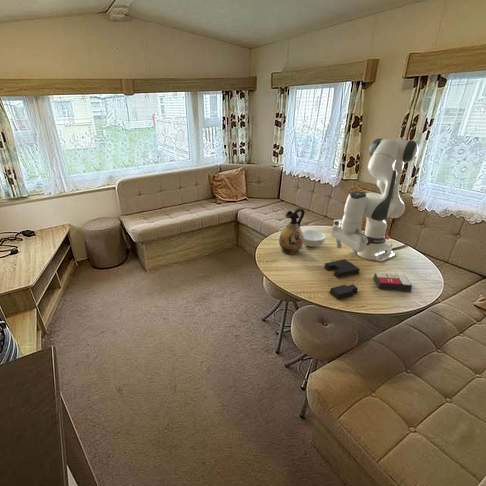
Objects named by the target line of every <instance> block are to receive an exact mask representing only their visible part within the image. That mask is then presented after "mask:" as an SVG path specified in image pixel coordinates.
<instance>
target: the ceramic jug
mask: <svg viewBox="0 0 486 486" xmlns="http://www.w3.org/2000/svg"><path fill="white" fill-rule="evenodd" d="M299 212H300V215H299V214H298V213H299ZM304 216H305V210H304V209H303V207H302V208H301V207H298V208H296V209H295V210H294V212H292V211H291V210H289V211H287V212H286V213H285V218H287V219H290V221H289V222H288V223H287V225H286V226H285V227H284V228H283V229H282V231H281V232H280V234H279V239H278V244H279V246H280V248H281V249H282V252H283V253H285V254H287V255H295V254H297V253H298V251H299V250H301V249H302V247H303V245H304V244H303V243H304V236H303V233H302V229H301V223H302V221H303V219H304Z"/></svg>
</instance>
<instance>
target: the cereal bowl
mask: <svg viewBox="0 0 486 486" xmlns="http://www.w3.org/2000/svg"><path fill="white" fill-rule="evenodd" d="M301 231H302V230H301ZM302 233H303V236H304V243H303V245H305V246H307V247H310V248H313V247H320V246H321V245H323V244H324V243H325V241H326V235H325V234H324V233H323V232H321V231H319V230H313V229H307V230H303V231H302Z"/></svg>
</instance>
